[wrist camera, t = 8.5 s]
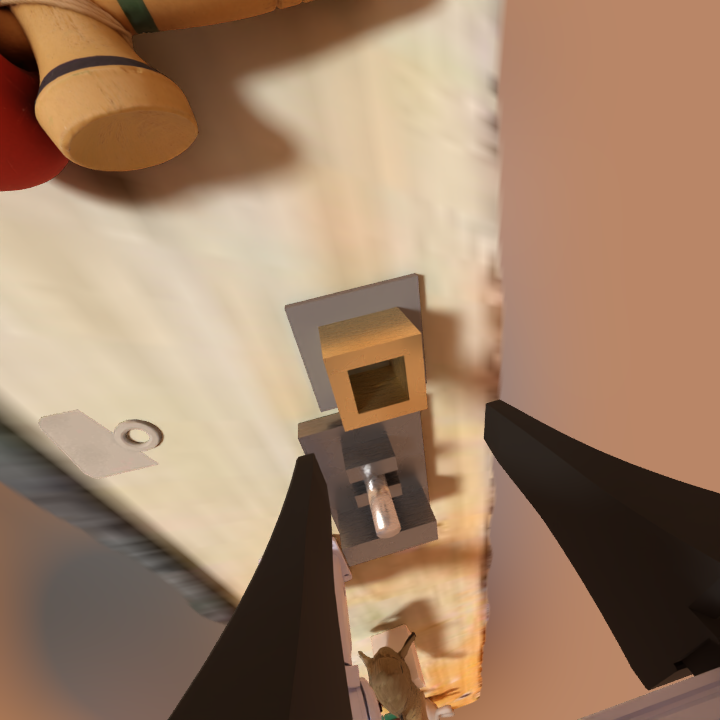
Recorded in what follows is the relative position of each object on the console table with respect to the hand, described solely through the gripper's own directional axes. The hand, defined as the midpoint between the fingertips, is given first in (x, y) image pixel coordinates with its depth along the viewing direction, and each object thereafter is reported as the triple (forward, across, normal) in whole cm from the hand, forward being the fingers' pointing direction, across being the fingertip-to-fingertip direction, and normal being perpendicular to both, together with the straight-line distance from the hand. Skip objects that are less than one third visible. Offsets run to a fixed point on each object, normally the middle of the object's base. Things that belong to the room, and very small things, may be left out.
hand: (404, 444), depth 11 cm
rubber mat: (+9, 0, 0) cm, 9 cm away
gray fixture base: (+9, +1, +11) cm, 14 cm away
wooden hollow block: (+8, 0, 0) cm, 8 cm away
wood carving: (+9, +5, +57) cm, 58 cm away
